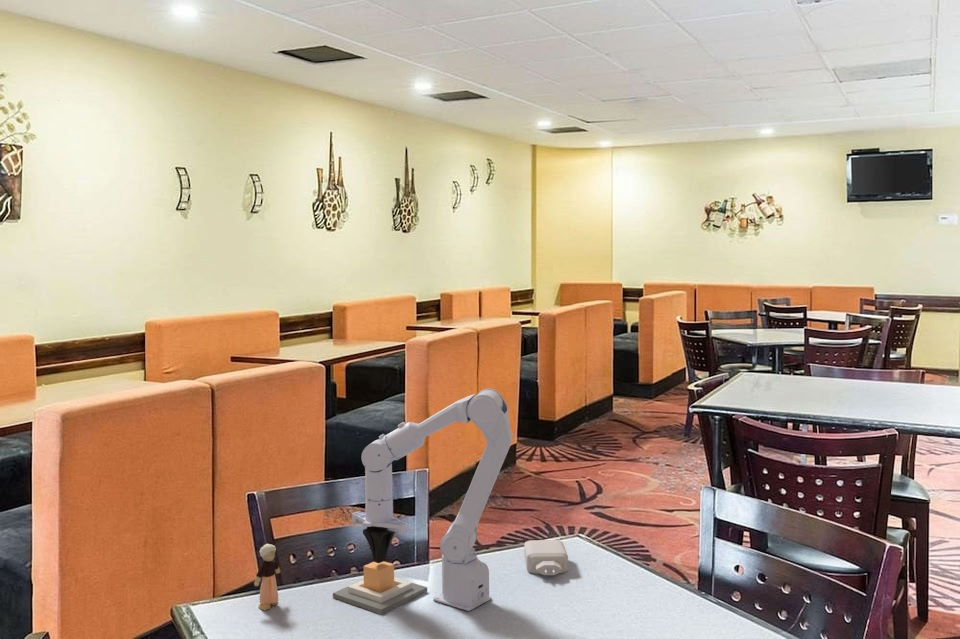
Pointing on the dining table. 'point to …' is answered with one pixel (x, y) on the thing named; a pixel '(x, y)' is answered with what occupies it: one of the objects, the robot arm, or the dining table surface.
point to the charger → (545, 557)
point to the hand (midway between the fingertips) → (379, 561)
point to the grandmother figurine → (267, 577)
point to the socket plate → (380, 595)
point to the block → (379, 576)
